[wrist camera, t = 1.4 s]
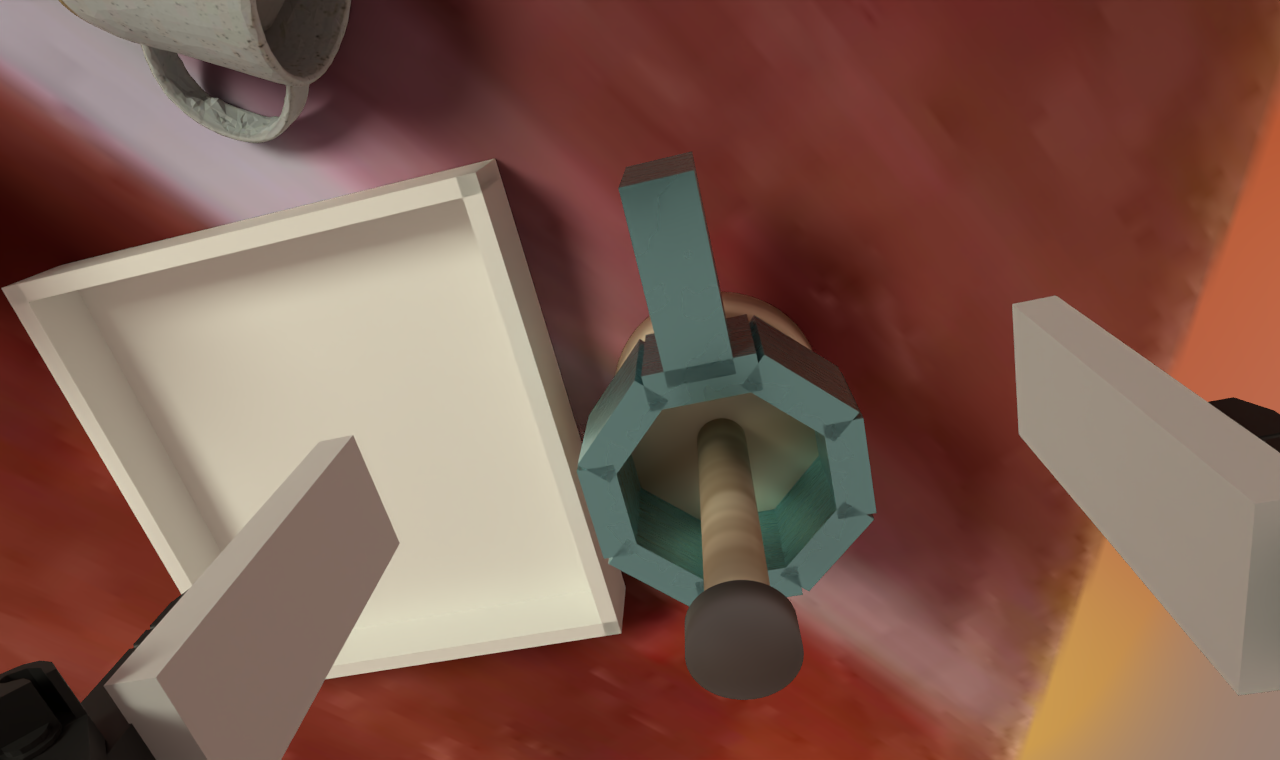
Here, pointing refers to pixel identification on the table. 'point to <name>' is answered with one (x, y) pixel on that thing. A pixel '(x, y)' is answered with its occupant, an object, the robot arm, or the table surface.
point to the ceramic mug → (228, 50)
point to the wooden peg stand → (732, 519)
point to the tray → (347, 404)
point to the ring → (707, 370)
